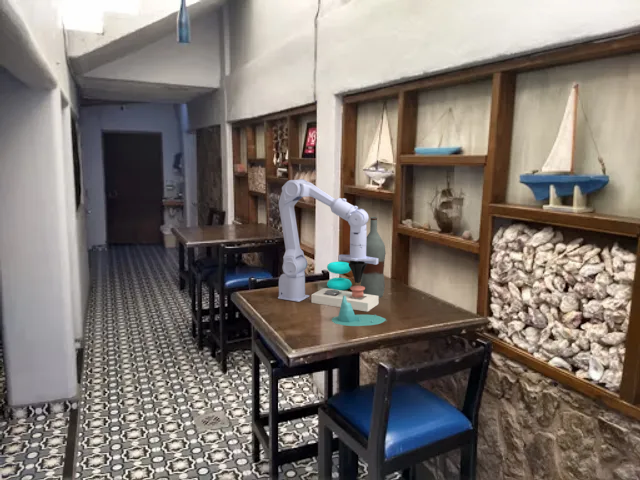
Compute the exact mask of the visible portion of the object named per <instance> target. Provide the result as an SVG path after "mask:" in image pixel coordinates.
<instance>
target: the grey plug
mask: <svg viewBox="0 0 640 480" xmlns="http://www.w3.org/2000/svg"><path fill="white" fill-rule="evenodd" d="M325 293H326V294H327V295H331V296H337V295H338V294H340V291H338V290H327V291H325Z"/></svg>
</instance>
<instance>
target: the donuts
mask: <svg viewBox="0 0 640 480" xmlns="http://www.w3.org/2000/svg"><path fill="white" fill-rule="evenodd" d="M349 263H350V262H348V261H331V262H329V263H328V264H327V266H326V268H327V269H326V270H327V271H328V272H329V273H332V274H335V275H343V274H348V273H350V272H352V271H351V269H350V267H349ZM326 283H327V284H326V286H327V288H328V289H335V290H342V291H348V290H349V289H350V287H351V286H353V283H352V281H351V280H350V279H349V278H345V277H333V278H330V279H329V280H328V281H327V282H326Z"/></svg>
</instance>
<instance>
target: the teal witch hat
mask: <svg viewBox="0 0 640 480" xmlns="http://www.w3.org/2000/svg"><path fill="white" fill-rule="evenodd" d="M339 308H340V309H339V311H338V312H339V313H338V315H337V316H334V317H332V319H331V322H332V323H334V324H336V325H340V326H346V327H347V326H348V327H362V326H364V327H367V326H375V325H379V324H382V323H384V322H386V321H387V319H386V318H385V317H382V316H379V315H377V314H355V310H354V309H353V308H352V306H351V303H348V302H347V300H346V296H345V295H344V296H343V299H342V303H341V307H339Z"/></svg>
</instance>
